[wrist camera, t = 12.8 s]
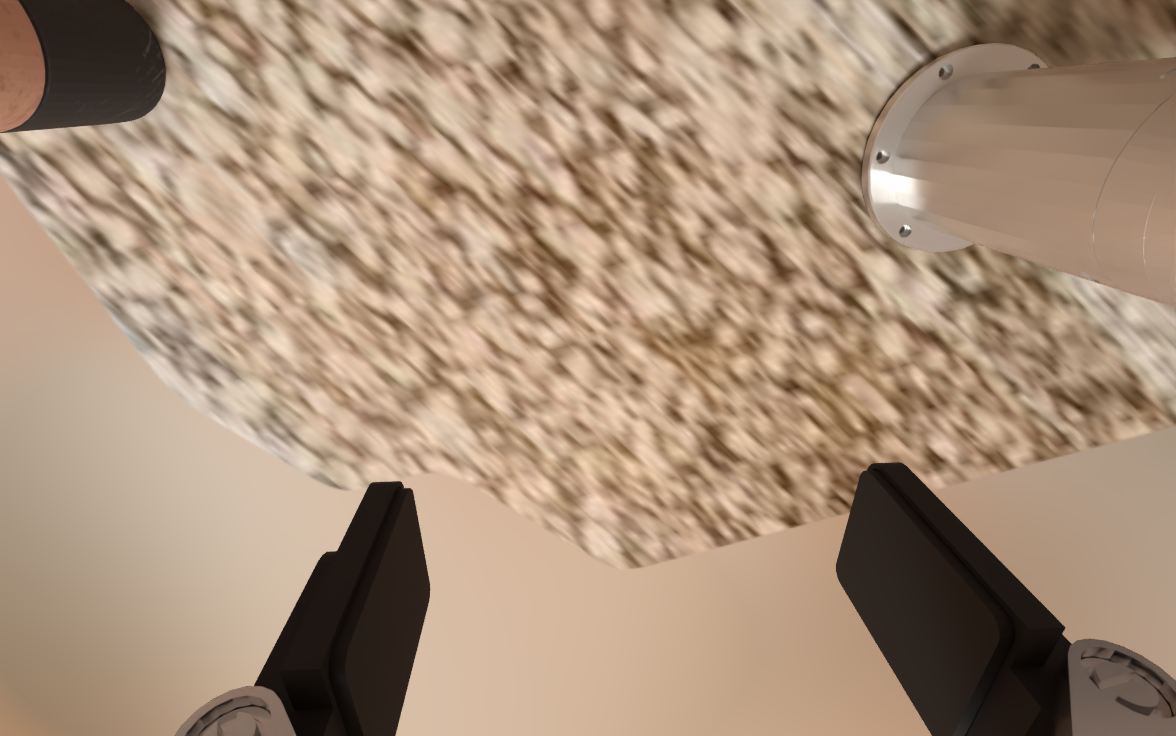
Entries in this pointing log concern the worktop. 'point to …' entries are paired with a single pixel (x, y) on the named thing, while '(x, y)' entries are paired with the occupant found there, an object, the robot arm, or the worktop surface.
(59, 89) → the travel mug
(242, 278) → the worktop surface
